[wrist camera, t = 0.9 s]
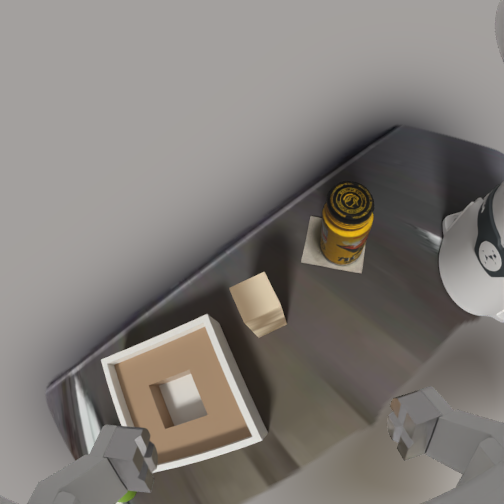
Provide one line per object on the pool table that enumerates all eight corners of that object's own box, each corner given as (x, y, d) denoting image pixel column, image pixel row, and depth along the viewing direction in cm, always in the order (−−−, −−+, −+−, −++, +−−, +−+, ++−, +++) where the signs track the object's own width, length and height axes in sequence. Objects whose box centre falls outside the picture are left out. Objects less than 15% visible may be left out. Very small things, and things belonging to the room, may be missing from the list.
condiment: (361, 273, 40) (379, 232, 30) (301, 262, 42) (298, 219, 32) (367, 226, 43) (382, 176, 32) (310, 217, 45) (309, 164, 34)
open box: (219, 323, 41) (207, 313, 36) (268, 432, 34) (262, 440, 29) (122, 364, 40) (100, 359, 35) (160, 466, 33) (141, 474, 28)
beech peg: (274, 297, 41) (264, 271, 32) (287, 324, 39) (281, 305, 30) (246, 310, 41) (229, 288, 32) (258, 337, 39) (244, 322, 30)
